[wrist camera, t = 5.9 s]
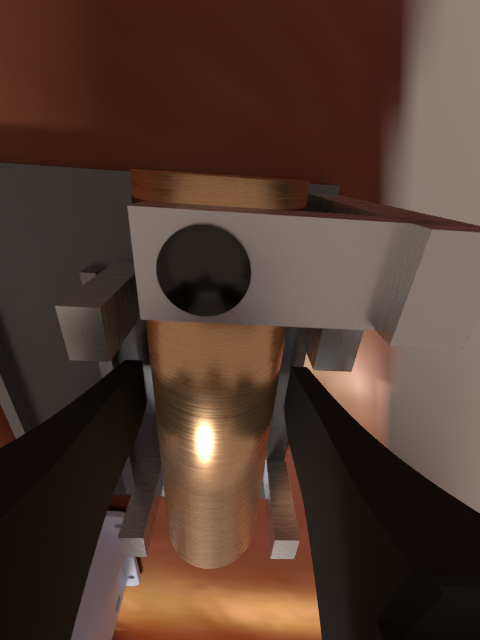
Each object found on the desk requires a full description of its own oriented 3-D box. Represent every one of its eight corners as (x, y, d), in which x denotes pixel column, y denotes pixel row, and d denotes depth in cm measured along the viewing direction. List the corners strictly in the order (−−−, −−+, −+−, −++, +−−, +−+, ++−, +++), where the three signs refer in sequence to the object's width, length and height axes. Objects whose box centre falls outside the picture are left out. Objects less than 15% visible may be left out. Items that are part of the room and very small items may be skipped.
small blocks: (282, 479, 15) (293, 559, 12) (146, 476, 15) (122, 556, 12) (325, 273, 10) (366, 320, 7) (114, 262, 9) (54, 305, 6)
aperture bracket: (328, 244, 9) (461, 348, 4) (194, 236, 9) (131, 334, 4) (338, 194, 9) (520, 235, 3) (193, 185, 8) (114, 210, 3)
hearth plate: (274, 481, 17) (277, 508, 15) (60, 476, 16) (44, 503, 15) (330, 184, 9) (345, 186, 8) (-60, 158, 9) (-112, 155, 8)
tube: (251, 472, 15) (261, 567, 11) (174, 473, 15) (159, 572, 11) (289, 178, 8) (339, 184, 5) (151, 169, 8) (96, 168, 5)
